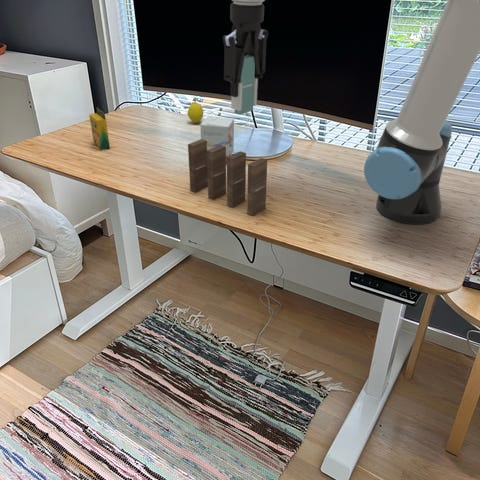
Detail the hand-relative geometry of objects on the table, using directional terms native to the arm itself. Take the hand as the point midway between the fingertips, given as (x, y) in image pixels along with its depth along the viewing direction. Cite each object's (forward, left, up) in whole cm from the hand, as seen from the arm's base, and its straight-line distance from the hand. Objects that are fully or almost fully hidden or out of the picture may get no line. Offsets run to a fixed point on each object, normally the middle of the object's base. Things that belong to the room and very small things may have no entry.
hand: (244, 106), depth 120 cm
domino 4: (-5, +8, -22) cm, 24 cm away
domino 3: (0, 0, -1) cm, 1 cm away
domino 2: (+2, +8, -22) cm, 23 cm away
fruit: (+47, -30, -22) cm, 59 cm away
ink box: (+19, -11, -22) cm, 31 cm away
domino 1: (+8, +8, -22) cm, 25 cm away
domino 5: (-11, +8, -22) cm, 26 cm away
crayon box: (+54, +6, -22) cm, 58 cm away
